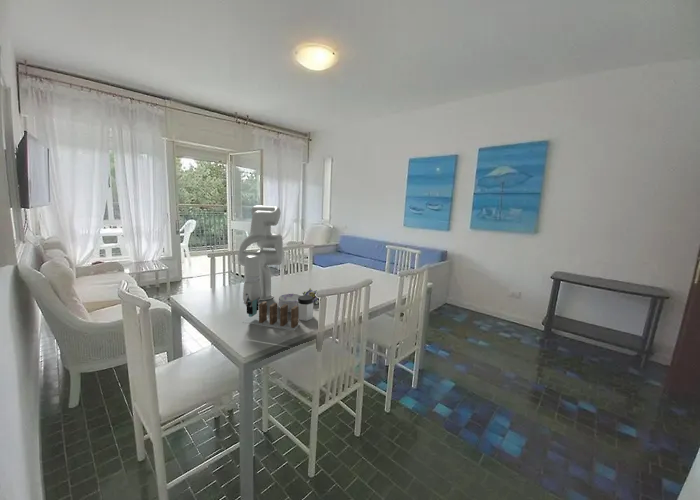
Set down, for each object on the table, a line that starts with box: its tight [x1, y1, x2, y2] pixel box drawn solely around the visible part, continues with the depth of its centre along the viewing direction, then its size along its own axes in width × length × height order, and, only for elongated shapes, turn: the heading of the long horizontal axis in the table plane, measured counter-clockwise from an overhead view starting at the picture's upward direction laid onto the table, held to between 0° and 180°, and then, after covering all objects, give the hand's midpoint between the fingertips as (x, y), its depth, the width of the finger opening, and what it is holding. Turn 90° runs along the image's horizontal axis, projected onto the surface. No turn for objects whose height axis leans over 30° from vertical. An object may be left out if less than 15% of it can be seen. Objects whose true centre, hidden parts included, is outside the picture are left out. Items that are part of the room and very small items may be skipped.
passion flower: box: [302, 288, 319, 305], centre depth 182 cm, size 11×11×12 cm
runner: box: [242, 314, 302, 331], centre depth 152 cm, size 29×10×1 cm, turn 77°
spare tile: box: [248, 299, 258, 318], centre depth 153 cm, size 2×5×10 cm, turn 167°
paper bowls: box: [278, 293, 303, 313], centre depth 171 cm, size 15×15×8 cm
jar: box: [298, 294, 314, 322], centre depth 159 cm, size 9×8×12 cm
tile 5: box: [290, 306, 299, 328], centre depth 148 cm, size 2×5×10 cm, turn 167°
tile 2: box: [258, 300, 268, 323], centre depth 152 cm, size 2×5×10 cm, turn 167°
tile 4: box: [279, 304, 289, 326], centre depth 149 cm, size 2×5×10 cm, turn 167°
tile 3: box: [269, 302, 278, 325], centre depth 151 cm, size 2×5×10 cm, turn 167°
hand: (252, 311), depth 153 cm, fingers closed on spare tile, 4 cm apart
